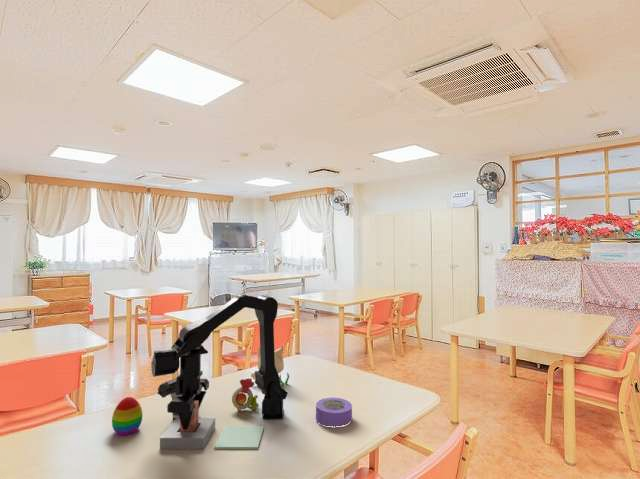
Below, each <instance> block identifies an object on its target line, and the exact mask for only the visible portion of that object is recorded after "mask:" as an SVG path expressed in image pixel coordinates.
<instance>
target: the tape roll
mask: <svg viewBox="0 0 640 479" xmlns="http://www.w3.org/2000/svg"><path fill="white" fill-rule="evenodd" d="M352 418H353V404H352V403H351V402H350V401H349V400H347V399H344V398H341V397H324V398H321V399H319V400H318V401H316V404H315V421H316V420H317V422H319V423H320V424H322V425H325V426H333V427H334V426H335V427H336V426H342V425H346V424H348V423H349V422H350V421H351V419H352ZM352 420H353V419H352ZM317 422H316V423H317ZM320 424H319V425H320Z"/></svg>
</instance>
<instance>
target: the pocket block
mask: <svg viewBox="0 0 640 479" xmlns="http://www.w3.org/2000/svg"><path fill="white" fill-rule="evenodd" d="M172 421H173V422H171V423H170V425H169V426H168V427H167V429H166V430H165V431H164V433H162V435H161V436H160V437H159V450H204V449H205V447H206V445H207V443H208V442H209V439H210V438H211V436H212V435H213V433H214V431H215V429H216V417H198V429H197V431H196V432H180V418H176V419H175V420H172Z"/></svg>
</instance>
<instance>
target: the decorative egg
mask: <svg viewBox="0 0 640 479" xmlns="http://www.w3.org/2000/svg"><path fill="white" fill-rule="evenodd" d="M111 418H112V419H111V426H112V429H113V431H114V432H115V433H116V435H119V436H128V435H131V434H133V433H135V432H137V430H138V429H139V428H140V426H141V424H142V421H143V409H142V407H141V404H140V402H139V401H138V400H137V399H136V398H134V397H132V396H127V397H124V398H123V399H122V400H121V401H119V403H118V404H117V405H116V407H115V408H114V410H113V414H112V416H111Z"/></svg>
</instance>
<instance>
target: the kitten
mask: <svg viewBox="0 0 640 479" xmlns="http://www.w3.org/2000/svg"><path fill="white" fill-rule="evenodd" d="M274 352H275V367H276V370H277V372H278V374H279V378H280V383H281V386H283V387H285V386H288V384H289V383H288V382H289V379H290V374H289V372H286V376H287V378H286V380H285V382H283V380H282V374H281V373H282V372H283V370H284V367H285V364H284V363H285V362H284V357H283V356H284V353H283V349H282V347H280V348H278V349H276V350H275V349H274ZM257 359H258V360H257V368H258V369H257V370H259V369H260V366H261V356H260V346H259V347H258V348H257ZM250 377H251V379H253V380H254V381H255V379H256V377H255V372H251V373H250ZM287 383H288V384H287ZM285 384H286V385H285ZM284 385H285V386H284Z"/></svg>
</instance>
